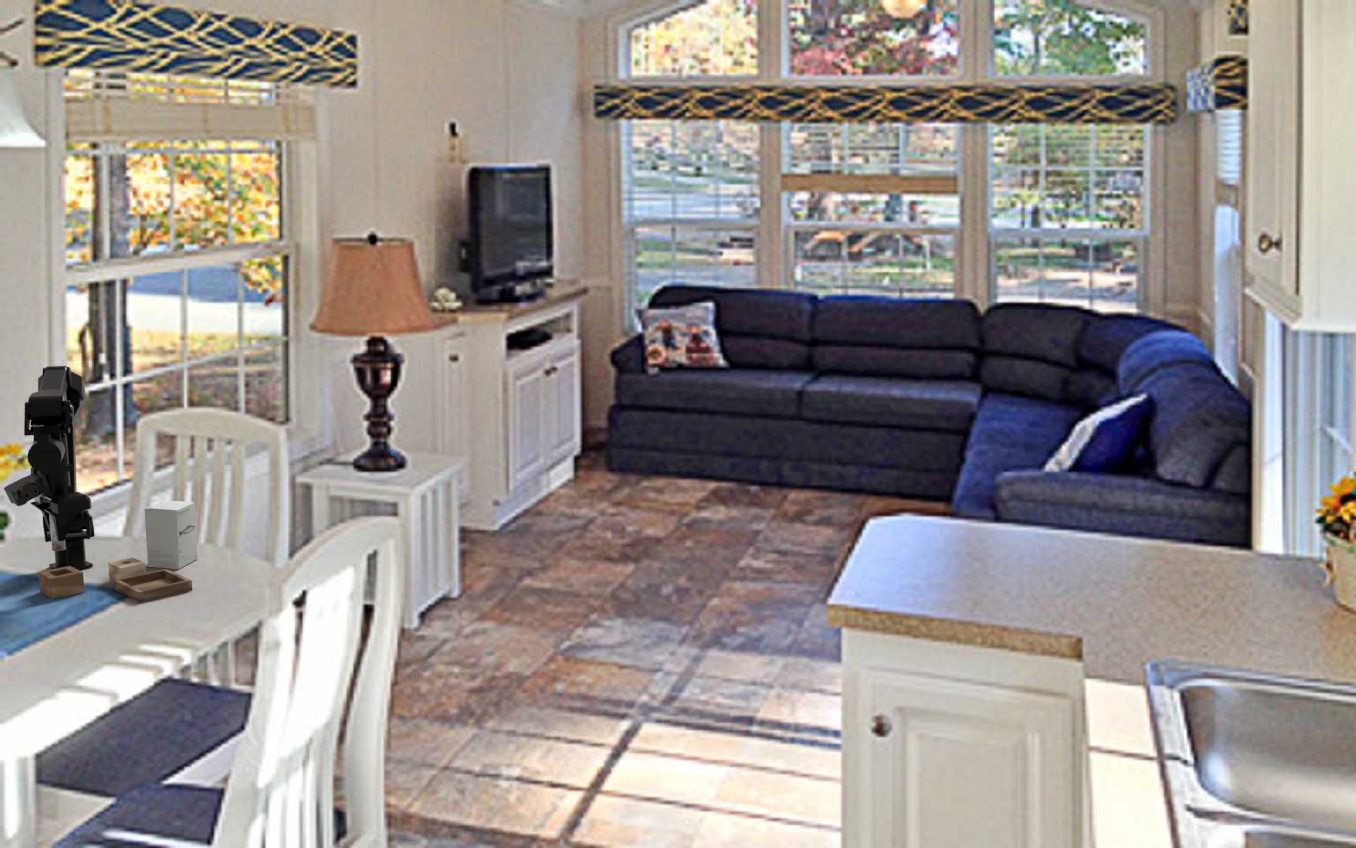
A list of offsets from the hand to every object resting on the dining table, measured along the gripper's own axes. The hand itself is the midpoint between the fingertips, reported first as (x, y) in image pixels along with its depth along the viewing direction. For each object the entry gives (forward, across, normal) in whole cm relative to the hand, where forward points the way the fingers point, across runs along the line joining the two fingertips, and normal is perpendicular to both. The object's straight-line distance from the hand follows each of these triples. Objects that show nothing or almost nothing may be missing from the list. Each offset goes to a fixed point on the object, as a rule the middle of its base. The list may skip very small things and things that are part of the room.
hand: (58, 539), depth 258 cm
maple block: (+11, +2, +12) cm, 16 cm away
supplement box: (+11, -3, +24) cm, 26 cm away
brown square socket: (+11, 0, 0) cm, 11 cm away
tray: (+11, +11, +13) cm, 20 cm away
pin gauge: (+2, 0, 0) cm, 2 cm away
